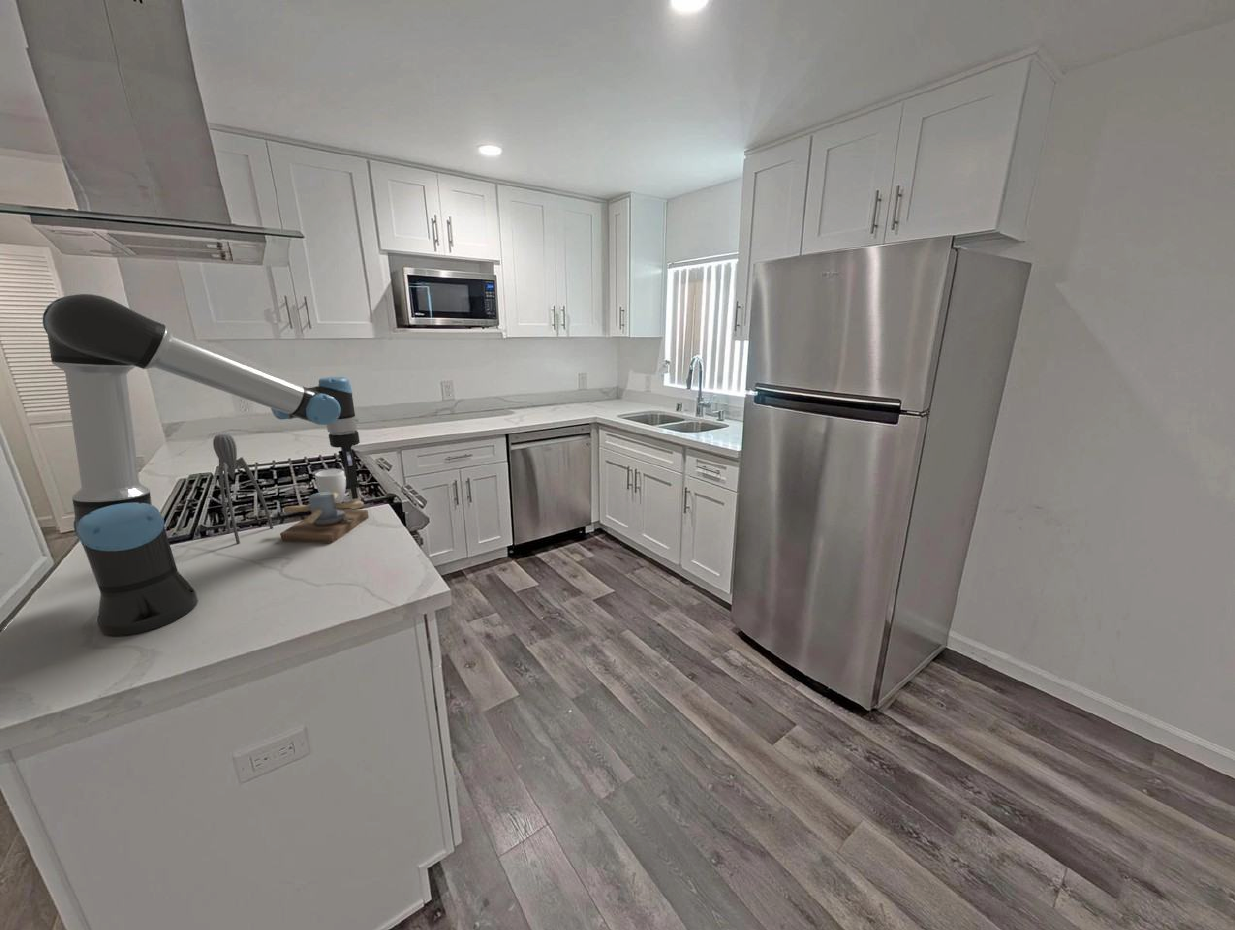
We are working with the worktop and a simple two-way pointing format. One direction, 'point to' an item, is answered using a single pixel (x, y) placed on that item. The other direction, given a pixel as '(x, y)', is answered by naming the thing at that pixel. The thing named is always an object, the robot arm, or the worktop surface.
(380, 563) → the worktop surface
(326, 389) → the robot arm
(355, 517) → the stand
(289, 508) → the capstan
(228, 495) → the citrus juicer
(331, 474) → the mug
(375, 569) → the worktop surface
